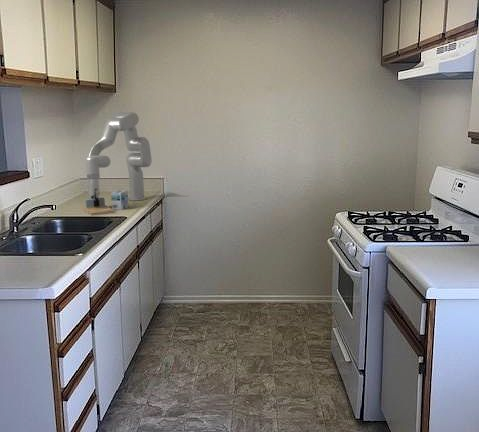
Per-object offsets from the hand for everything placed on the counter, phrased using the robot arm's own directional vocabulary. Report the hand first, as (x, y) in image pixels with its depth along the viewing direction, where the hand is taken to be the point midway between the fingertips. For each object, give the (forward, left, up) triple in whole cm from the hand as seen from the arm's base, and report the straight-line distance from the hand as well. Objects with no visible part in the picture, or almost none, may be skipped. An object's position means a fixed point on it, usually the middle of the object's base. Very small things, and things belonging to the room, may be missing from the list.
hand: (95, 205), depth 343 cm
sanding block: (0, 0, -1) cm, 1 cm away
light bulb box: (+5, +14, -3) cm, 15 cm away
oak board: (+7, 0, -3) cm, 7 cm away
